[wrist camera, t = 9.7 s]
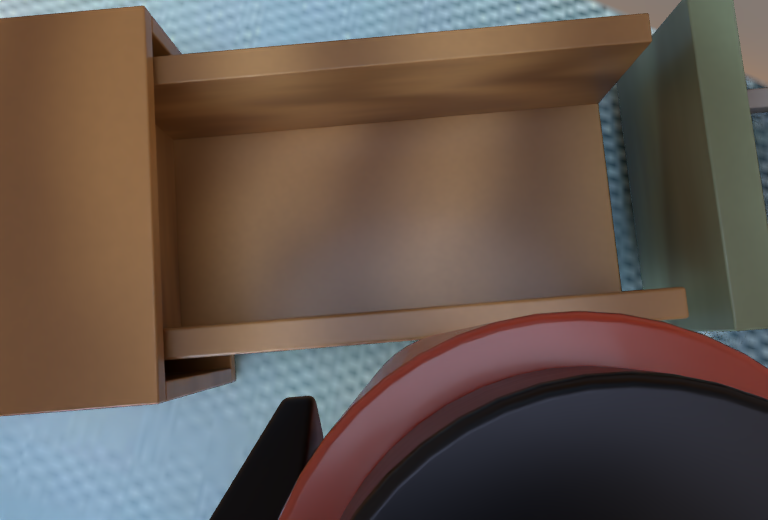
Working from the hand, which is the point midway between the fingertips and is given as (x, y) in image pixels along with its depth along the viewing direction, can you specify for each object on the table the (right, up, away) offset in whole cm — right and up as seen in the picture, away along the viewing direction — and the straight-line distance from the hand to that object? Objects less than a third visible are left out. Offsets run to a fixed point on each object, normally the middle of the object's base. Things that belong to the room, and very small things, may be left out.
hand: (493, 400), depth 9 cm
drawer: (+1, +3, +13) cm, 13 cm away
